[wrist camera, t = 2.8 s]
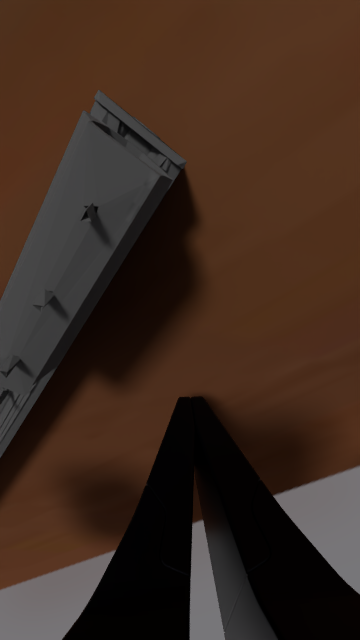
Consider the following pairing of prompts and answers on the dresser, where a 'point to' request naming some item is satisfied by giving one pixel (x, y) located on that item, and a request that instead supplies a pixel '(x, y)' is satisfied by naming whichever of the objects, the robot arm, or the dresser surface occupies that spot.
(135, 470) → the dresser surface
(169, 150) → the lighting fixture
